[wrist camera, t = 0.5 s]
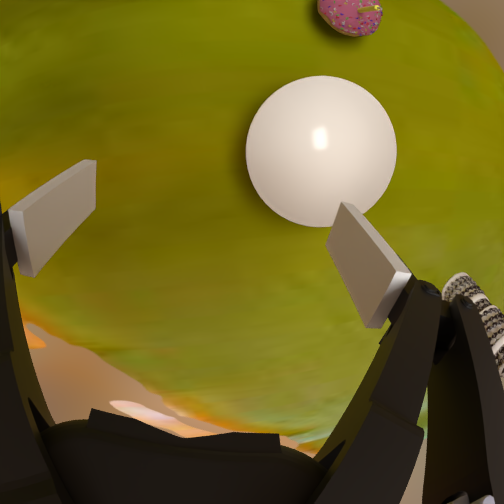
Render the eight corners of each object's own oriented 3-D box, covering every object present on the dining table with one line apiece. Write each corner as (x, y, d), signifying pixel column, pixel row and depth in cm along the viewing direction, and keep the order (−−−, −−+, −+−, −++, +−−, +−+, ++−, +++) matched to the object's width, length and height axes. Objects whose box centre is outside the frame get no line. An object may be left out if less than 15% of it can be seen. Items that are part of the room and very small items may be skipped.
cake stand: (258, 65, 33) (264, 57, 26) (381, 101, 36) (412, 106, 28) (233, 190, 42) (232, 213, 34) (348, 212, 44) (370, 237, 37)
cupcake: (374, 38, 31) (419, 26, 20) (319, 44, 32) (352, 28, 21) (356, -12, 26) (394, -38, 16) (300, -8, 27) (324, -40, 17)
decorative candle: (446, 273, 52) (513, 358, 30) (474, 268, 52) (539, 343, 30) (434, 307, 56) (489, 391, 35) (463, 300, 57) (517, 376, 35)
